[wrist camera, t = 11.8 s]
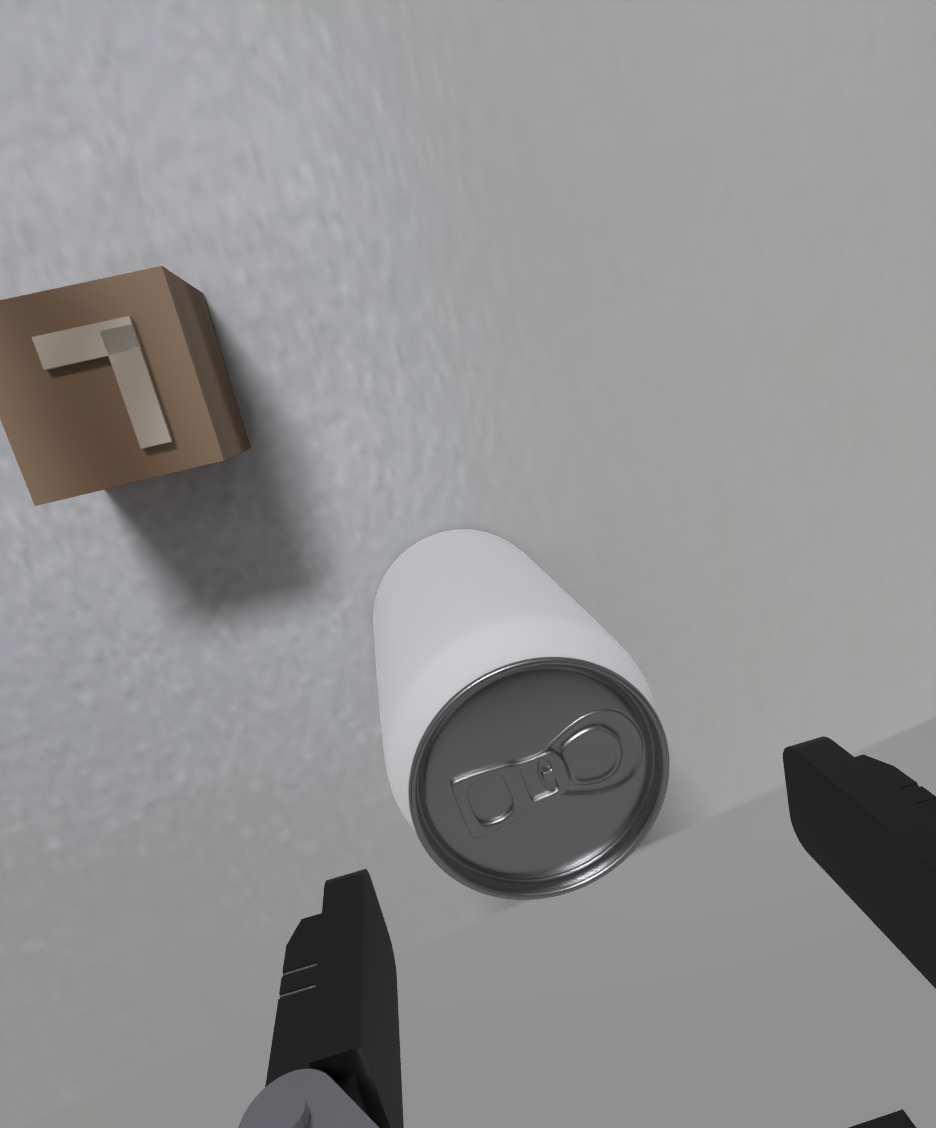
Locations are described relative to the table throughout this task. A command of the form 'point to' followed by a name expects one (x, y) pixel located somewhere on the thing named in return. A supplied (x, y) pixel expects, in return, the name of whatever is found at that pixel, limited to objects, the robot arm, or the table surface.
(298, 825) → the table surface
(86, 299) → the marked block
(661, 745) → the can
